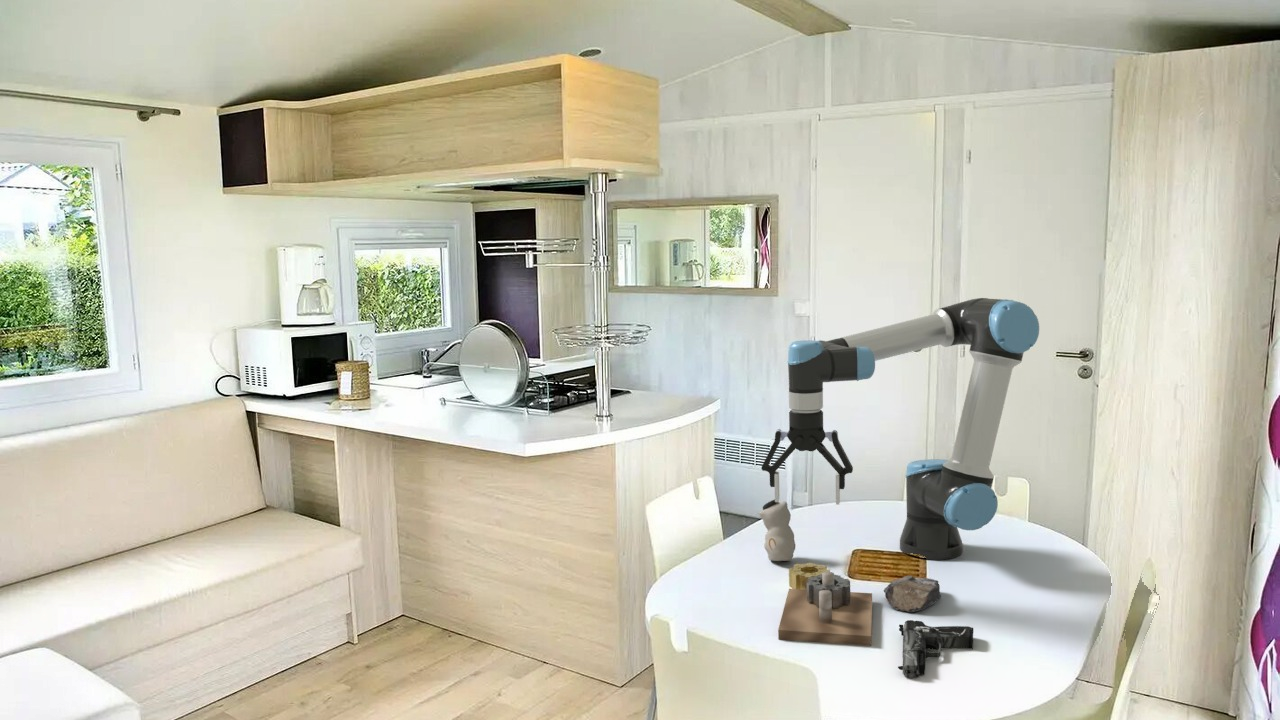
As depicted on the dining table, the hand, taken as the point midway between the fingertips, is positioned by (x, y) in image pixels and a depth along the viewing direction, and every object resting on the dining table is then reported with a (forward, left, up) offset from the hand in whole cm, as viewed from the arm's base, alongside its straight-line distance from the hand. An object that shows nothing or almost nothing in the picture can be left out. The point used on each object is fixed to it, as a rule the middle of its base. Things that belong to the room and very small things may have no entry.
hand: (807, 501), depth 206 cm
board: (-5, +18, -20) cm, 27 cm away
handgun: (-26, +31, -21) cm, 46 cm away
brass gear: (0, 0, -20) cm, 20 cm away
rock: (-23, +5, -21) cm, 31 cm away
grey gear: (-5, +12, -18) cm, 22 cm away
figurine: (+9, -16, -20) cm, 27 cm away
